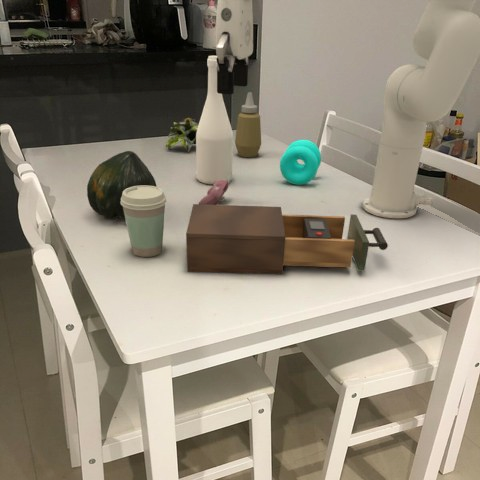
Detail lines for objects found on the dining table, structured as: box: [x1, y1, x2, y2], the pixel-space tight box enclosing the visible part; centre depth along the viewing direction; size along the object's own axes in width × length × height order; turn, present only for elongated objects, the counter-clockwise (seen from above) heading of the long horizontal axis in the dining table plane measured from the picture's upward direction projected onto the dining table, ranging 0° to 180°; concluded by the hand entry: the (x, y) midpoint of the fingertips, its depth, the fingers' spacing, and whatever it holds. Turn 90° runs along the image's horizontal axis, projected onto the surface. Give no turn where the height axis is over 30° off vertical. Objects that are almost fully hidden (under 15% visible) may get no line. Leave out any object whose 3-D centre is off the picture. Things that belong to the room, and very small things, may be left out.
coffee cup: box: [120, 185, 168, 258], centre depth 102 cm, size 8×8×12 cm
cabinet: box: [185, 203, 285, 275], centre depth 102 cm, size 18×15×8 cm
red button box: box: [302, 219, 331, 239], centre depth 102 cm, size 4×9×5 cm, turn 179°
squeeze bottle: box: [234, 91, 262, 158], centre depth 159 cm, size 8×8×18 cm
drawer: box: [282, 214, 389, 272], centre depth 103 cm, size 21×13×6 cm, turn 89°
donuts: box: [279, 139, 322, 186], centre depth 142 cm, size 10×10×10 cm
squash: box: [86, 150, 158, 219], centre depth 118 cm, size 14×15×15 cm
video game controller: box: [198, 179, 231, 205], centre depth 127 cm, size 10×5×7 cm, turn 168°
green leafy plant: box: [165, 117, 199, 154], centre depth 165 cm, size 11×11×12 cm
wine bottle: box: [195, 55, 234, 186], centre depth 135 cm, size 10×10×30 cm
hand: (232, 89), depth 106 cm, fingers open, 9 cm apart
